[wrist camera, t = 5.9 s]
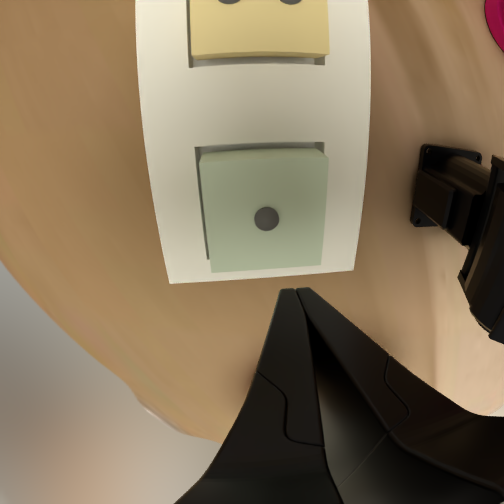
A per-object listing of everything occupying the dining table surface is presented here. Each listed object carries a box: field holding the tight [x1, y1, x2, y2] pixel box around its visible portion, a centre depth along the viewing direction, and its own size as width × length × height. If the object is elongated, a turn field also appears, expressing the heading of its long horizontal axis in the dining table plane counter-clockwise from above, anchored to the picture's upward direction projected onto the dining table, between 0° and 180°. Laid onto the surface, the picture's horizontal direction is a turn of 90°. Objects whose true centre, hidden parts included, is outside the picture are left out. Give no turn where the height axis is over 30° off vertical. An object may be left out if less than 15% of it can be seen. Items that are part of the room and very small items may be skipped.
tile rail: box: [136, 0, 371, 284], centre depth 12 cm, size 12×32×3 cm, turn 2°
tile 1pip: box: [199, 148, 329, 273], centre depth 16 cm, size 6×6×2 cm
